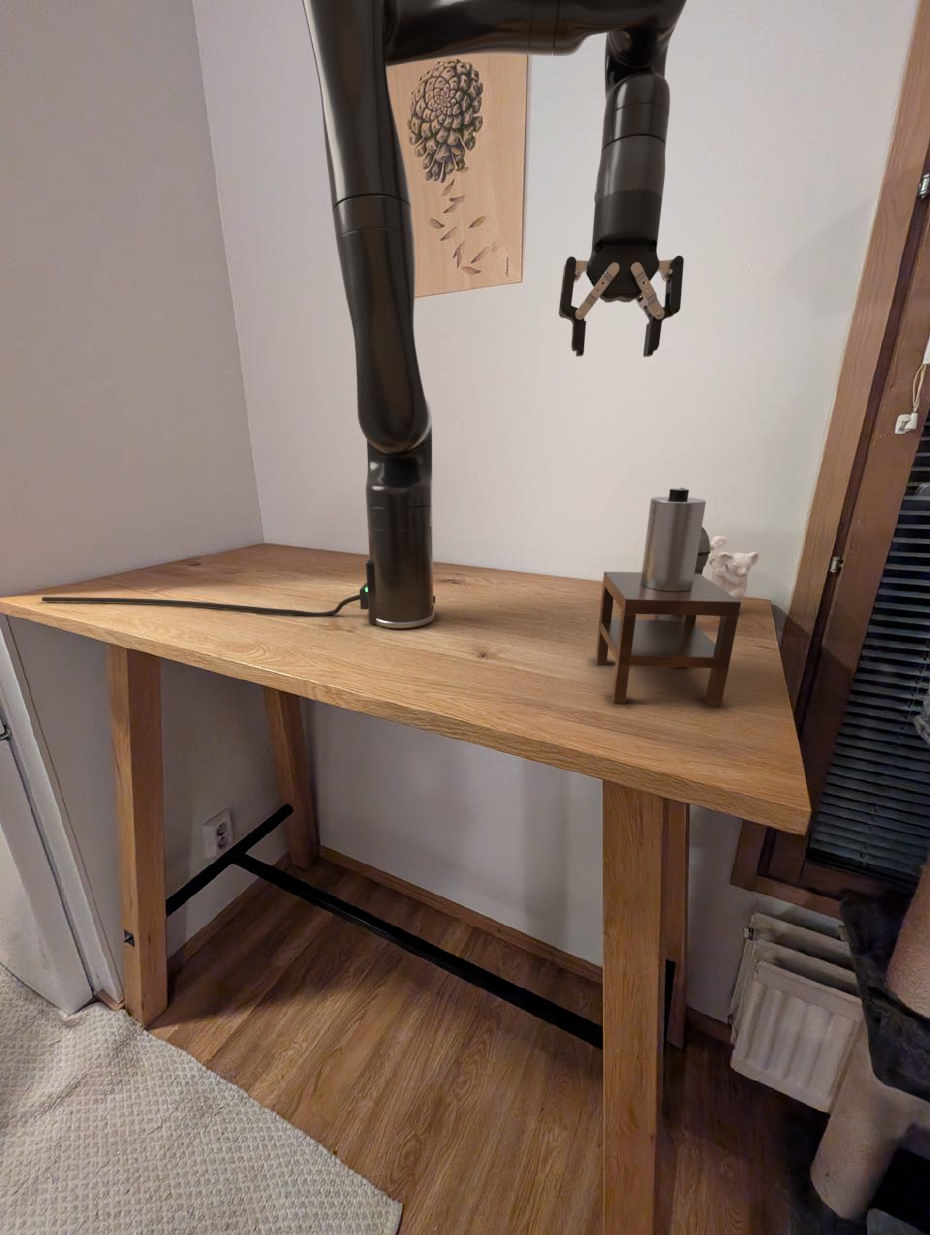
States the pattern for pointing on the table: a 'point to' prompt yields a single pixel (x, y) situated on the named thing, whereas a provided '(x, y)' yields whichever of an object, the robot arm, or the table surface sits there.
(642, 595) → the stand
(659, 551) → the silver metal canister
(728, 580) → the koala figurine
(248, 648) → the table surface
